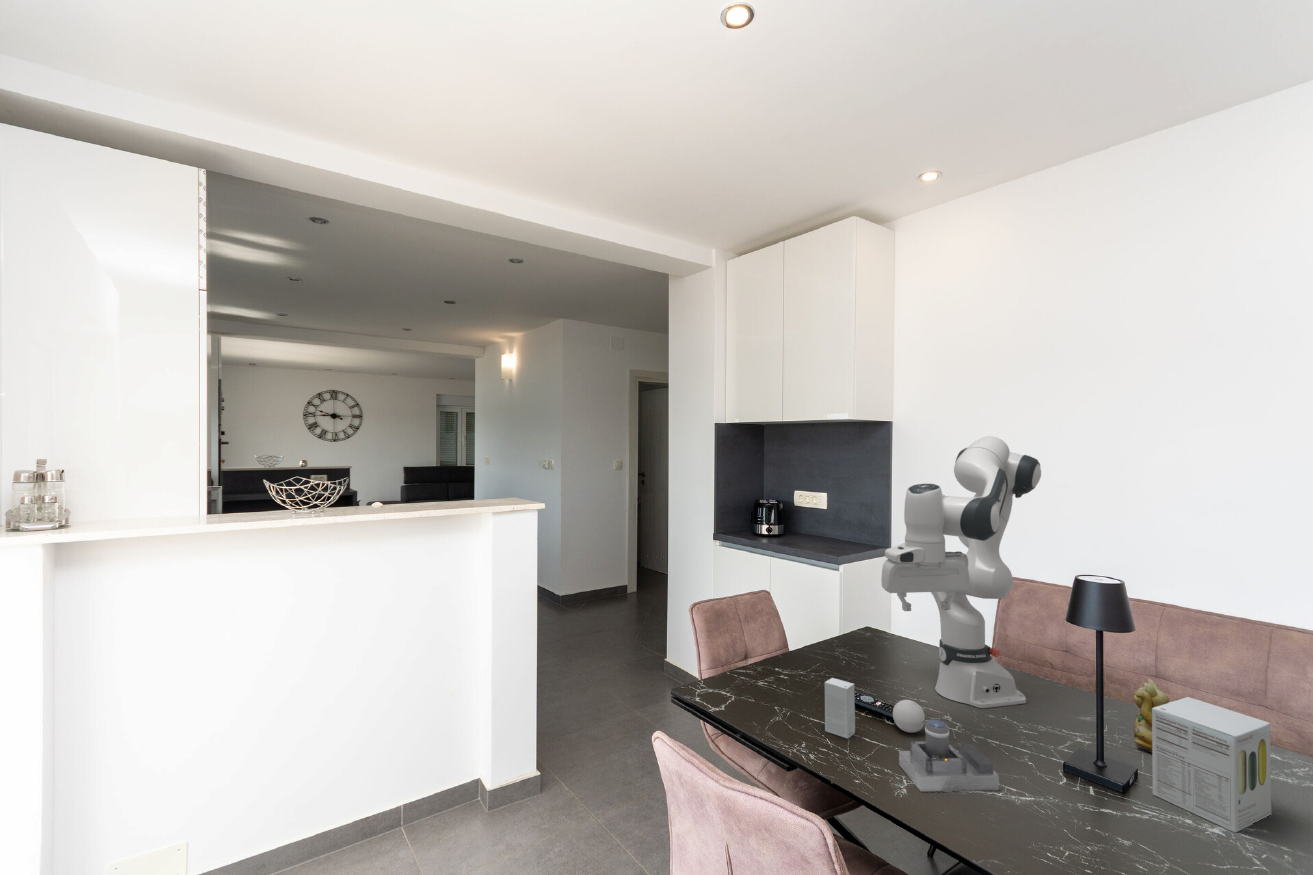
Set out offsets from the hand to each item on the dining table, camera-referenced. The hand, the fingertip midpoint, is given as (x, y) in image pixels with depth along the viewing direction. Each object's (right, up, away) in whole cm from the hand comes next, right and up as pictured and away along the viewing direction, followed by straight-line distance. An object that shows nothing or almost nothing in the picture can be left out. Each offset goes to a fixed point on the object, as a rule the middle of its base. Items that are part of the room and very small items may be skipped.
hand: (926, 609), depth 142 cm
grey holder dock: (-4, -30, -17) cm, 35 cm away
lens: (-5, -27, -17) cm, 33 cm away
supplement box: (+43, -30, -27) cm, 59 cm away
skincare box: (-20, -31, +2) cm, 37 cm away
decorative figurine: (+50, -30, -6) cm, 59 cm away
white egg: (-2, -31, +4) cm, 31 cm away
